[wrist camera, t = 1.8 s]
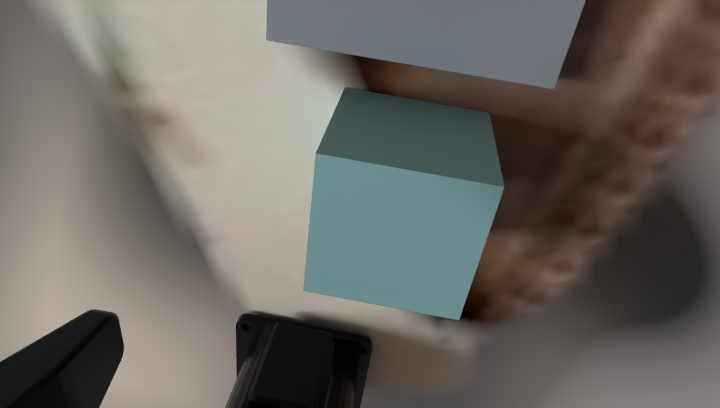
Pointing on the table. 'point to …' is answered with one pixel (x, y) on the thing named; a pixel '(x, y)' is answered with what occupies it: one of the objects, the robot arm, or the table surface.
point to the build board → (438, 33)
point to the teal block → (402, 203)
